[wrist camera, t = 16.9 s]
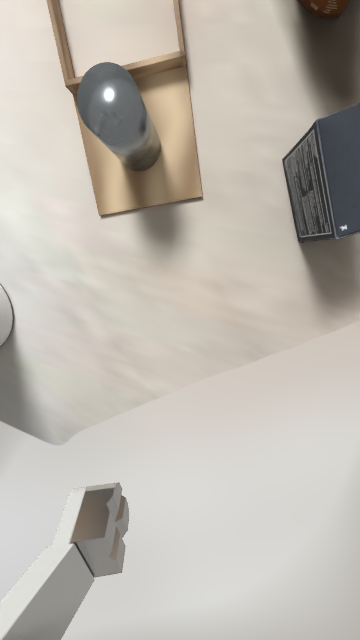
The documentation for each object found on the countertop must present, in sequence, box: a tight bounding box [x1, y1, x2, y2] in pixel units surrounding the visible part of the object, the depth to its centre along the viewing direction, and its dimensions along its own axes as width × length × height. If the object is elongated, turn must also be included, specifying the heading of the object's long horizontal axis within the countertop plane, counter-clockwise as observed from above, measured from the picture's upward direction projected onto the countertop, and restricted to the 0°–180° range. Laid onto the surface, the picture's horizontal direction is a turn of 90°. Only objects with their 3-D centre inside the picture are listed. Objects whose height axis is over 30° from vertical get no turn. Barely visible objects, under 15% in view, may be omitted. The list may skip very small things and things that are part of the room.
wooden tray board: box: [47, 0, 202, 216], centre depth 31 cm, size 14×28×2 cm, turn 9°
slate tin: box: [77, 62, 161, 171], centre depth 28 cm, size 6×6×11 cm
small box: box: [282, 103, 360, 243], centre depth 28 cm, size 11×6×10 cm, turn 17°
